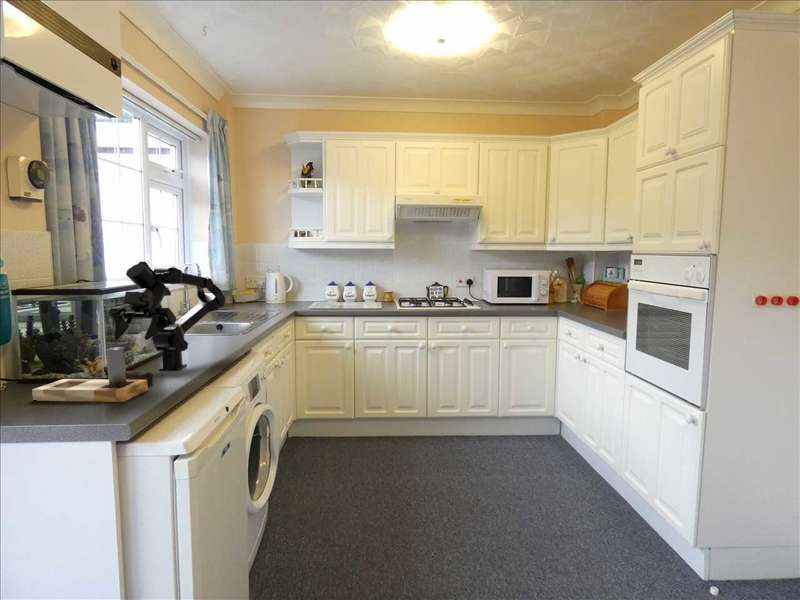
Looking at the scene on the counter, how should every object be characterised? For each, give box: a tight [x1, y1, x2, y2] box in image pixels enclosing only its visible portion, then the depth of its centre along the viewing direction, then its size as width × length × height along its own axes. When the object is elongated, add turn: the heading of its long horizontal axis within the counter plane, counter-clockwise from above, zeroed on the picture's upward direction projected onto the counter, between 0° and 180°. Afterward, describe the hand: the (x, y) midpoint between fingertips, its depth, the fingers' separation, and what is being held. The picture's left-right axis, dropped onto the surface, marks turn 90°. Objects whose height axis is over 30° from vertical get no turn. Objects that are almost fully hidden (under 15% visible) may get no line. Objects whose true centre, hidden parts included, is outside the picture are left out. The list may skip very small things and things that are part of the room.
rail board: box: [31, 378, 149, 403], centre depth 119 cm, size 10×25×3 cm, turn 87°
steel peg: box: [106, 346, 127, 388], centre depth 118 cm, size 4×4×13 cm
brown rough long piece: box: [103, 365, 154, 386], centre depth 132 cm, size 19×4×5 cm, turn 68°
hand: (130, 339), depth 128 cm, fingers open, 9 cm apart
